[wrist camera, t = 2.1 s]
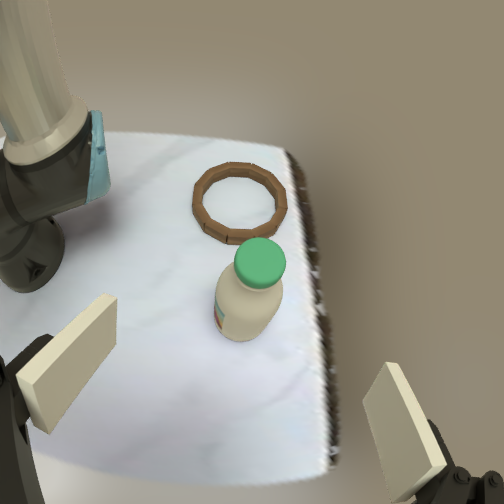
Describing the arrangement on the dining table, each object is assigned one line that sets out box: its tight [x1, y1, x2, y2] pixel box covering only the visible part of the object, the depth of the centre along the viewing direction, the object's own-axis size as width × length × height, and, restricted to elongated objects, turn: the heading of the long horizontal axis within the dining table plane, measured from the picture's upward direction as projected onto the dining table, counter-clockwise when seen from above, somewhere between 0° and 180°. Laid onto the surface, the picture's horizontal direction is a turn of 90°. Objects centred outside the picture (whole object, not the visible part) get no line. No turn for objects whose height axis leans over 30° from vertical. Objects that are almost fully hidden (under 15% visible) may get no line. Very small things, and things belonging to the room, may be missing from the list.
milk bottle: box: [214, 237, 286, 342], centre depth 35 cm, size 8×8×20 cm
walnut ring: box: [192, 162, 288, 245], centre depth 52 cm, size 16×16×2 cm
